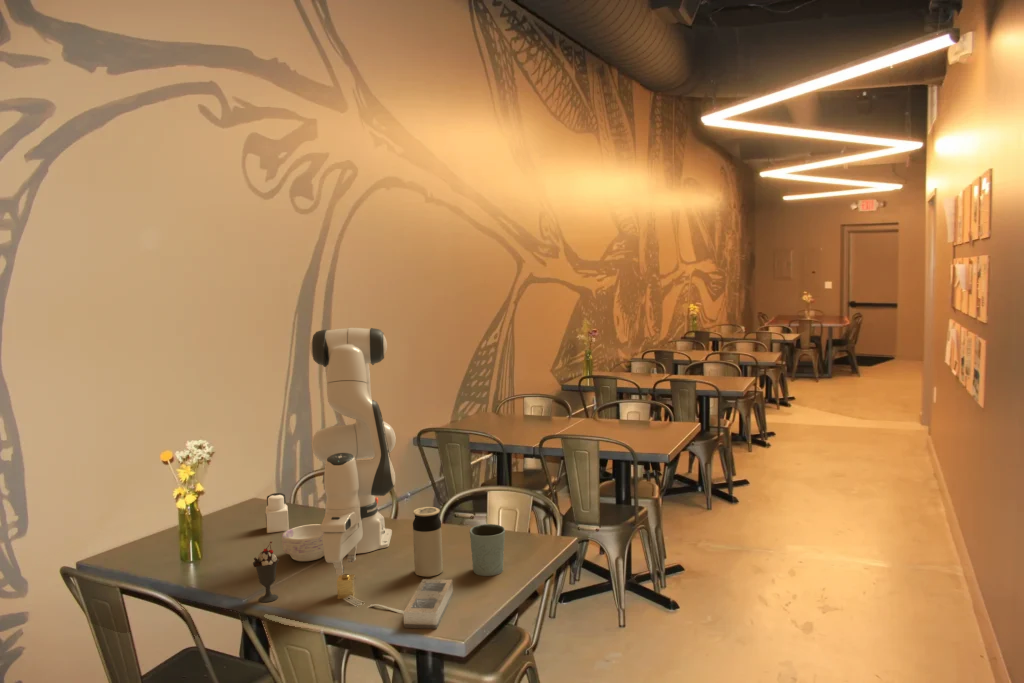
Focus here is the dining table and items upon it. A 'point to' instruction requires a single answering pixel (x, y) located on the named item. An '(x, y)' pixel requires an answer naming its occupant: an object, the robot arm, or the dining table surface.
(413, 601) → the tan windowed box
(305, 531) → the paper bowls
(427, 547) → the travel mug
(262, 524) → the dining table surface
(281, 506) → the medicine bottle
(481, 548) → the green cup
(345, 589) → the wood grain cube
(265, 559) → the sundae
